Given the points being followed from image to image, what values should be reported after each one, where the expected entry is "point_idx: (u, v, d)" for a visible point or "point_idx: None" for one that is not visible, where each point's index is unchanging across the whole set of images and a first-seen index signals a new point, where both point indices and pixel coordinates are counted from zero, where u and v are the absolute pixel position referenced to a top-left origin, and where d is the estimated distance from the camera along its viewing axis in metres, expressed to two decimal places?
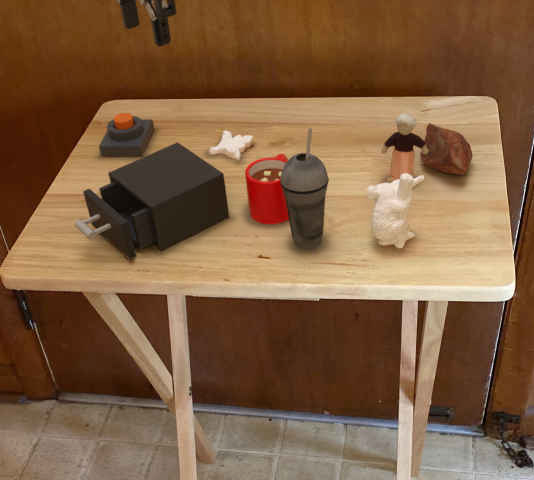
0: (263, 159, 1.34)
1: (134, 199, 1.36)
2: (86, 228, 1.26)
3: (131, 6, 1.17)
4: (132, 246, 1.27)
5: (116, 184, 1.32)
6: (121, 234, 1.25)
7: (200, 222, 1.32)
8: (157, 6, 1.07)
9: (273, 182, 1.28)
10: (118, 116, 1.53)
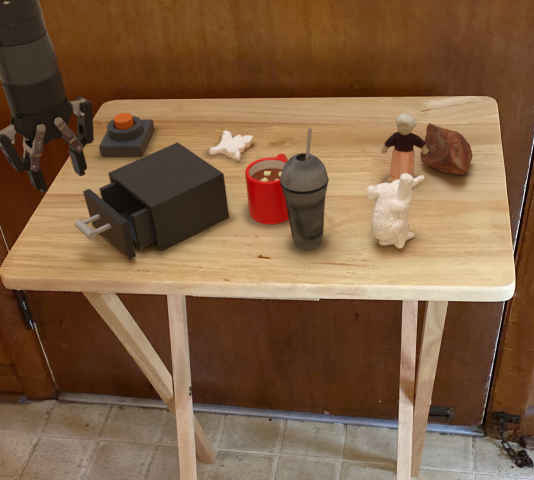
0: (263, 159, 1.34)
1: (134, 199, 1.36)
2: (86, 228, 1.26)
3: (73, 157, 1.14)
4: (132, 246, 1.27)
5: (116, 184, 1.32)
6: (121, 234, 1.25)
7: (200, 222, 1.32)
8: None
9: (273, 182, 1.28)
10: (118, 116, 1.53)
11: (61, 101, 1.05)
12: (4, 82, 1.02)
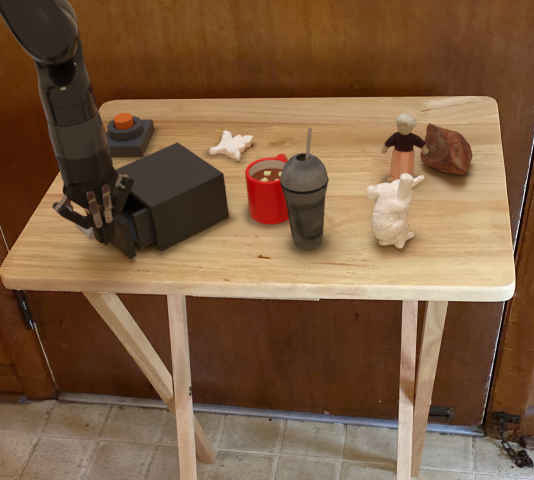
0: (263, 159, 1.34)
1: (134, 199, 1.36)
2: None
3: None
4: (132, 246, 1.27)
5: None
6: (122, 234, 1.25)
7: (200, 222, 1.32)
8: None
9: (273, 182, 1.28)
10: (118, 116, 1.53)
11: (109, 171, 1.15)
12: (58, 156, 1.12)
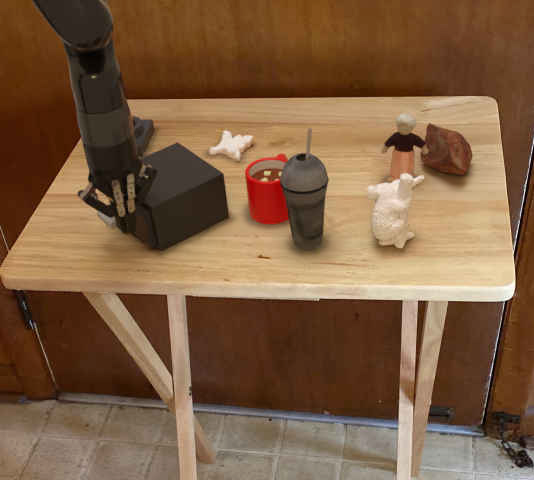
0: (263, 159, 1.34)
1: None
2: (108, 217, 1.28)
3: None
4: (154, 235, 1.28)
5: None
6: (144, 224, 1.27)
7: (200, 222, 1.32)
8: None
9: (273, 182, 1.28)
10: None
11: (135, 160, 1.17)
12: (86, 144, 1.14)
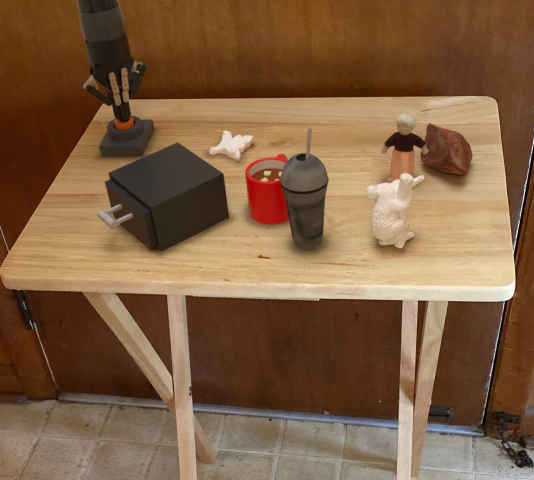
0: (263, 159, 1.34)
1: None
2: (108, 217, 1.28)
3: None
4: (154, 235, 1.28)
5: None
6: (144, 224, 1.27)
7: (200, 222, 1.32)
8: None
9: (273, 182, 1.28)
10: None
11: (127, 55, 1.43)
12: (87, 40, 1.40)
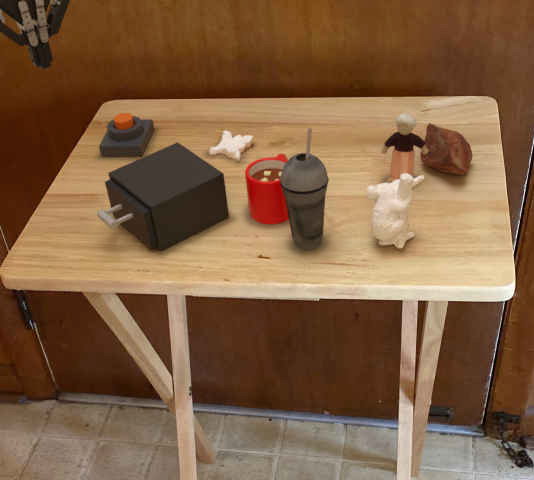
0: (263, 159, 1.34)
1: None
2: (108, 217, 1.28)
3: None
4: (154, 235, 1.28)
5: None
6: (144, 224, 1.27)
7: (200, 222, 1.32)
8: None
9: (273, 182, 1.28)
10: (118, 116, 1.53)
11: None
12: None
